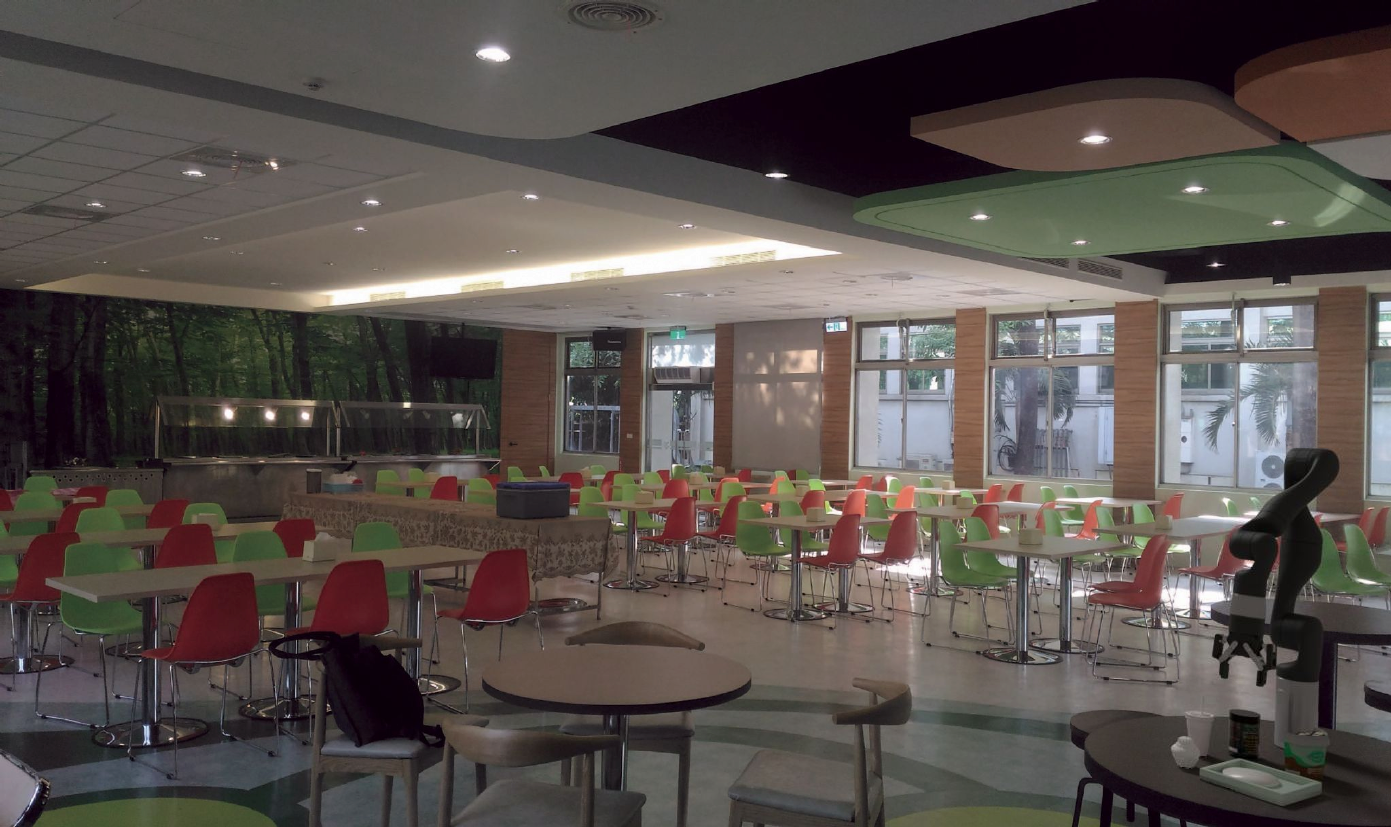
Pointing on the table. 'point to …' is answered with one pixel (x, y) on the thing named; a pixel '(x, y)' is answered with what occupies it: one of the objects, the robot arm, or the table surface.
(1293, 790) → the tray
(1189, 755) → the muffin
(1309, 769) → the food container
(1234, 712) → the supplement container
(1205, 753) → the smoothie
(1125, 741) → the table surface
